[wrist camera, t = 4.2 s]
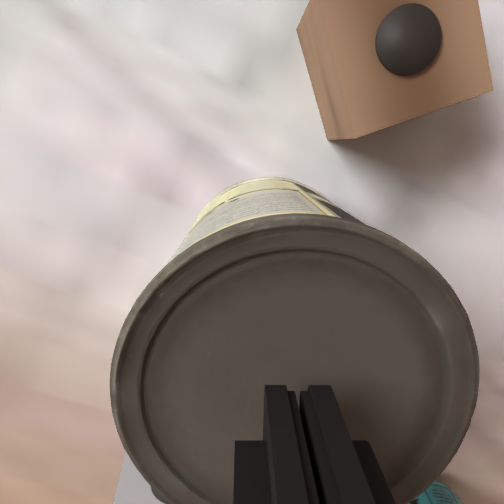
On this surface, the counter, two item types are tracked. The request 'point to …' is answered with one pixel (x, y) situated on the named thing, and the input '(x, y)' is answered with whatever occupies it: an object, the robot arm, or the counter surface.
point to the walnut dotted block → (391, 60)
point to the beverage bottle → (437, 495)
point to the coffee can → (290, 343)
